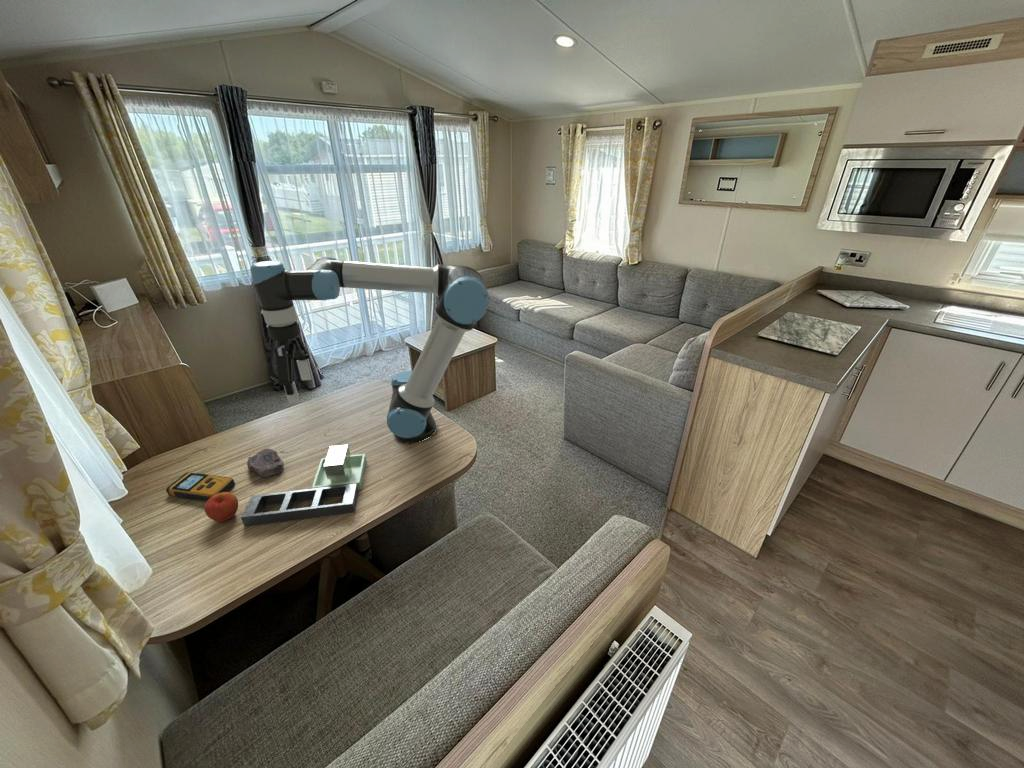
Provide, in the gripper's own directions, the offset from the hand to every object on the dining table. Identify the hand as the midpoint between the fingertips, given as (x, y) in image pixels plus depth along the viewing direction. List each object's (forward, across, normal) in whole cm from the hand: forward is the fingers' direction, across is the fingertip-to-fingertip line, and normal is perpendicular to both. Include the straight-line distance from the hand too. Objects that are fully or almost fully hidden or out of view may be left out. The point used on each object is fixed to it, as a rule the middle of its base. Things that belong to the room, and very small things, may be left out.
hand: (301, 390), depth 116 cm
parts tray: (+27, +9, +8) cm, 29 cm away
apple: (+27, +20, -20) cm, 39 cm away
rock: (+27, 0, -16) cm, 32 cm away
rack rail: (+27, +20, 0) cm, 34 cm away
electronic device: (+27, +8, -31) cm, 42 cm away
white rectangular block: (+26, +9, +8) cm, 29 cm away
